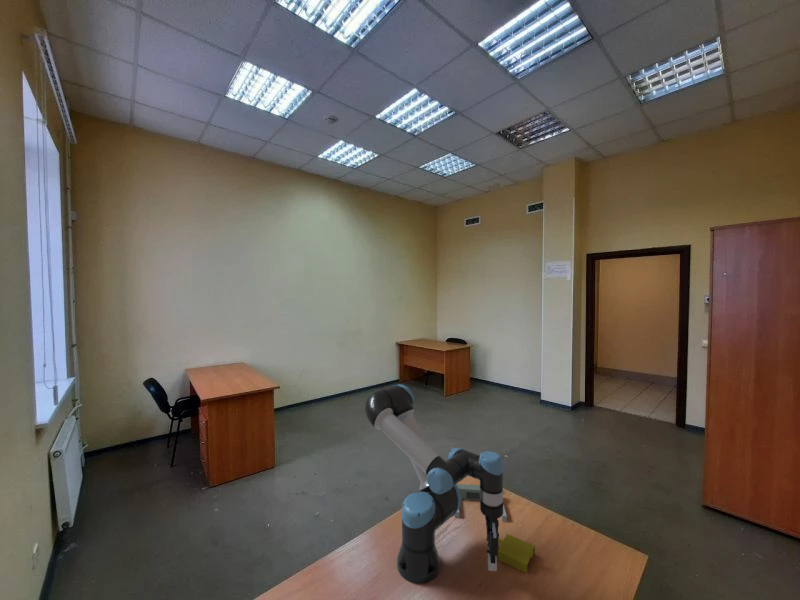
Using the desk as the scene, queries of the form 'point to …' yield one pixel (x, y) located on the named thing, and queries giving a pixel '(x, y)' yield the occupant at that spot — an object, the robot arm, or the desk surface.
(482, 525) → the desk surface
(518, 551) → the bracket
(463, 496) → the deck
